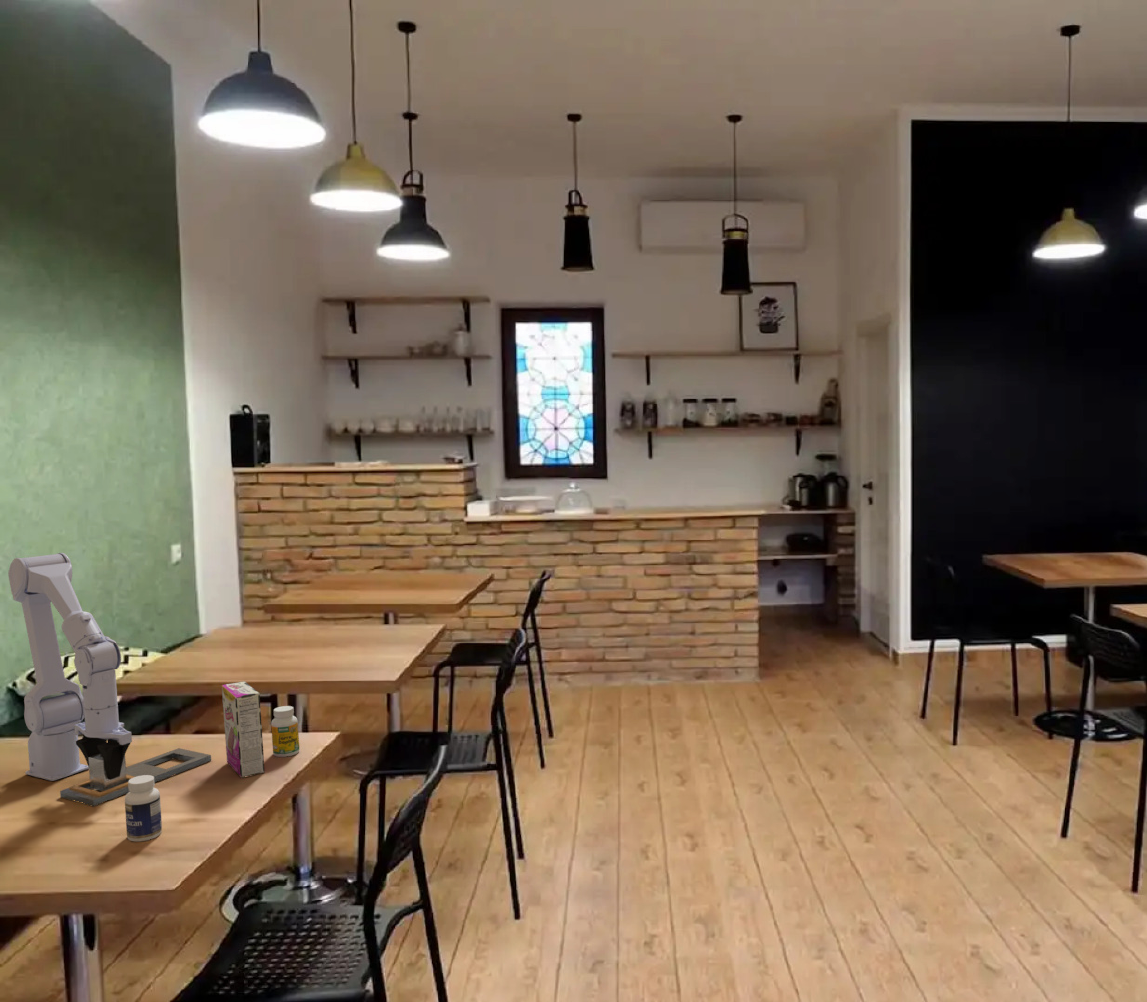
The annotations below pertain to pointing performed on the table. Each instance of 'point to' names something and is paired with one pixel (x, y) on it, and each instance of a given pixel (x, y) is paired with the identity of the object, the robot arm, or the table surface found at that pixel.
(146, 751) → the table surface
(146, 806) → the pill bottle
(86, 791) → the rail
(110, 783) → the metal block with knob
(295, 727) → the supplement bottle
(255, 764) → the candy bar box
